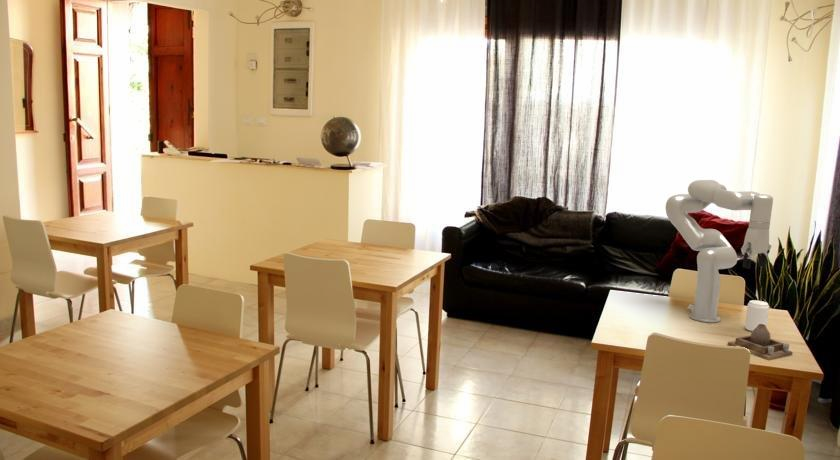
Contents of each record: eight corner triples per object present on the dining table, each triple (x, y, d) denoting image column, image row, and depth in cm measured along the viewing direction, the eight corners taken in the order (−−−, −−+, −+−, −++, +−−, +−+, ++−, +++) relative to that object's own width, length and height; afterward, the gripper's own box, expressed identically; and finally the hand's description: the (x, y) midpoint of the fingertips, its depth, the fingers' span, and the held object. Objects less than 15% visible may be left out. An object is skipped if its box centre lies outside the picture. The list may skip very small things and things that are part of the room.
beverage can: (757, 334, 299) (760, 306, 297) (740, 328, 306) (743, 300, 304) (770, 332, 303) (773, 304, 301) (753, 326, 310) (756, 299, 308)
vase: (771, 350, 276) (774, 328, 274) (751, 348, 277) (754, 326, 276) (766, 344, 283) (769, 323, 281) (747, 342, 284) (750, 321, 282)
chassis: (727, 344, 284) (728, 334, 283) (750, 340, 291) (751, 330, 290) (768, 360, 269) (770, 349, 268) (792, 354, 276) (793, 344, 275)
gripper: (764, 222, 298) (759, 263, 301) (736, 224, 289) (731, 266, 292) (781, 225, 291) (775, 267, 295) (753, 228, 283) (748, 271, 286)
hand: (753, 267), depth 294 cm, fingers open, 9 cm apart
